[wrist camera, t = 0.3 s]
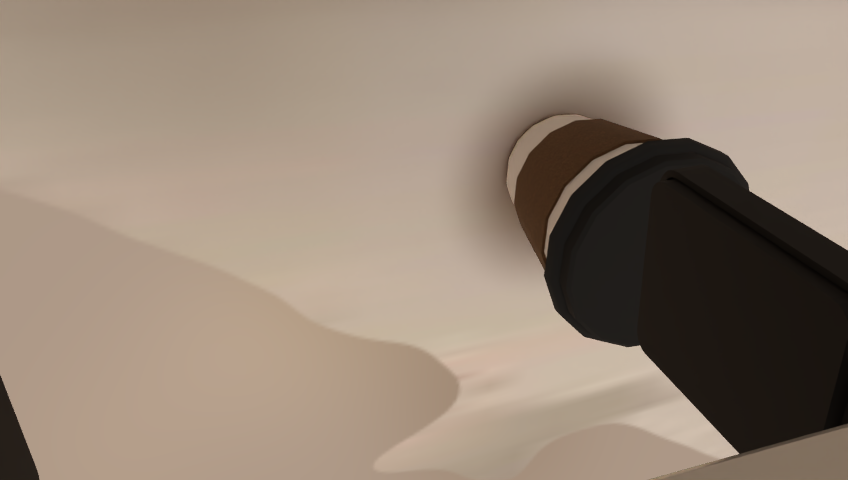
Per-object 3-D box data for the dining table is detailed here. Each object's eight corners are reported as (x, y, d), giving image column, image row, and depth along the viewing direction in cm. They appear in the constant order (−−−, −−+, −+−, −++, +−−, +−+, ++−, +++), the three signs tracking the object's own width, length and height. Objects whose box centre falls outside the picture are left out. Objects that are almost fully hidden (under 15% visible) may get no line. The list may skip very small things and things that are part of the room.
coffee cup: (660, 88, 46) (802, 163, 36) (601, 250, 51) (713, 358, 40) (495, 59, 42) (604, 135, 32) (447, 238, 47) (530, 354, 36)
